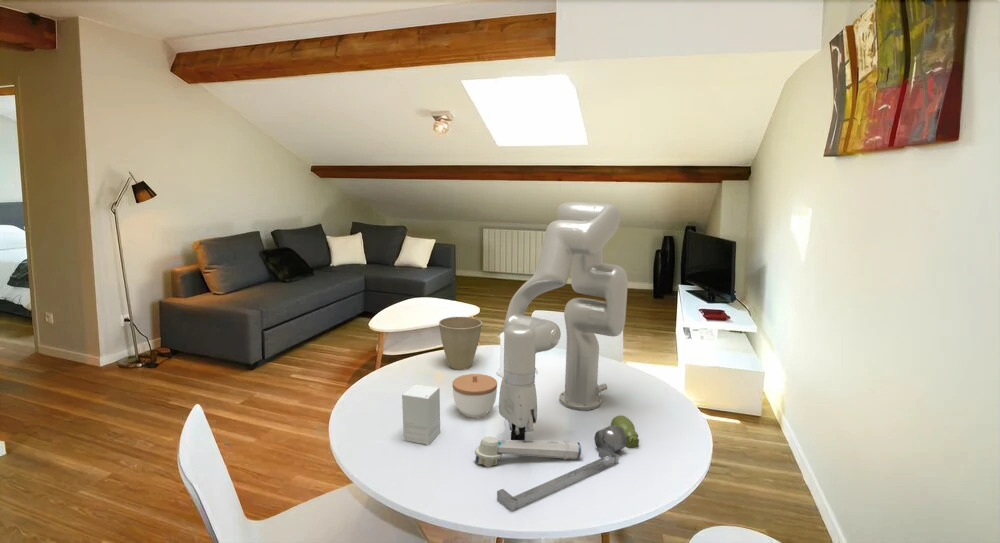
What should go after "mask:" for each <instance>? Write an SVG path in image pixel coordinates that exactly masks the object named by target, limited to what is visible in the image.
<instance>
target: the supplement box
mask: <svg viewBox="0 0 1000 543" xmlns="http://www.w3.org/2000/svg"><path fill="white" fill-rule="evenodd" d="M440 394H441V393H440V387H437V386H430V385H429V386H428V385H422V384H417V383H415V384H414V385H412V386H411V387H410V388H409V389H407V390H406V391H405V392H403V393H402V394H401V399H402V425H403V426H402V427H403V428H402V430H403V431H402V432H403V441H406V442H412V443H417V444H423V445H427V446H428V445H430V444H432V442H433V441H434V440H435V439H436V438H437V437H438V436H439V434H440V433H441V403H440V402H441V400H440V399H441V398H440V396H441V395H440Z"/></svg>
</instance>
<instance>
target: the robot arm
mask: <svg viewBox="0 0 1000 543" xmlns="http://www.w3.org/2000/svg"><path fill="white" fill-rule="evenodd" d="M556 215H557V220H553V221H551V222H550V223H549V224H548V226H547V227H546V230H545V233H544V236H543V241H542V244H541V249H540V252H539V257H538V260H537V264H536V268H535V271H534V274H533V275H532V276H531V277H530V278H529V279H528V280H526V282H524V283H523V284H522V285H521V286H520V287H519V289H518V290H517V291H516V292H515V293H514V295H513V296H512V297H511V299H510V302H509V305H508V308H507V310H506V311H507V312H506V315H505V320H504V324H503V334H504V335H503V337H504V338H503V347H504V348H503V377H502V378H501V384H500V387H499V396H498V413H499V415H500V416H501V417H502V418H503V419H505V420H506V421H507V422H508V427H509V430H510V440H526V433H531V432H534V431H535V428H534V424H536V423H537V419H538V399H537V397H538V396H537V389H536V384H535V383H536V381H535V380H536V355H537V353H541V352H548V351H550V350H553V349H554V348H555V347H556V346H557V345H558V344H559V342H560V339H561V335H562V334H561V329H560V326H559V325H558V324H557V323H556V322H554V321H552V320H550V319H544V318H539V317H534V316H529V315H525V313H526V310H527V309H528V307H529V305H530V304H531V302H532V301H533V300H534V299H535V298H536V297H538V296H539V295H542V294H544V293H546V292H550V291H553V290H556V289H559V288H562V287H564V286H566V284H568V279H569V275H570V276H571V277H570V283H571V288H572V290H573V291H574V292H576V293H578V294H581V295H587V296H592V297H600V298H604V299H605V301H604V300H598V299H594V298H593V299H591V298H587V297H574V298H572V299H570V300H569V301H567V303H566V304H565V307H564V314H563V316H564V323H565V324H564V325H565V333H566V348H565V349H566V352H565V374H564V375H565V377H564V379H565V380H564V381H565V382H564V391H562V392H560V394H559V397H558V401H559V402H560V403H561V404H562V405H563V406H564V407H567V408H569V409H572V410H573V409H574V410H578V411H579V410H580V411H588V410H593V409H597V408H599V407H600V406H601V405H602V401H603V399H602V396H600V393H601V392H603V391H607V390H608V384H607V383H603V384H599V383H598V379H599V377H598V376H599V359H600V358H599V355H600V344H599V341H598V338H597V336H596V335H600V336H604V337H618V336H620V335H621V334H622V332H623V331H624V328H625V324H626V315H627V301H628V274H627V272H626V270H625V269H624V267H622V266H620V265H617V264H610V263H604V262H603V248H604V246H605V245H606V244H607V243H608V242H609V241H610V240H611V238H612V237H613V236H614V235H615V234H616V232H617V230H618V229H619V226H620V222H621V215H620V211H619V208H618V207H617V206H615V205H614V204H611V203H607V202H606V203H605V202H603V203H602V202H589V201H588V202H587V201H567V202H564V203H562V204H560V205H559V206H558V209H557V214H556ZM570 271H571V274H570Z"/></svg>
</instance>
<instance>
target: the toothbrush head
mask: <svg viewBox="0 0 1000 543" xmlns="http://www.w3.org/2000/svg"><path fill="white" fill-rule="evenodd" d="M474 454H475V463H476V464H478V465H483V466H484V467H486V468H488V467H489V468H491V467H492V466H498V464H499V463H500V459H501V458H502V456H503V454H504V455H518V456H526V457H527V456H528V457H539V458H540V457H541V458H543V457H544V458H554V459H555V458H556V459H562V460H563V461H565V460H567V459H568V460H579V459H581V455H582V445H581V443H580V442H579V441H567V439H563V441H562V440H528V439H527V440H526V439H525V440H511V439H498V438H497V437H494V436H484V437H482V439H480V442H479V445H478V446H477V447H475V448H474Z"/></svg>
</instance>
